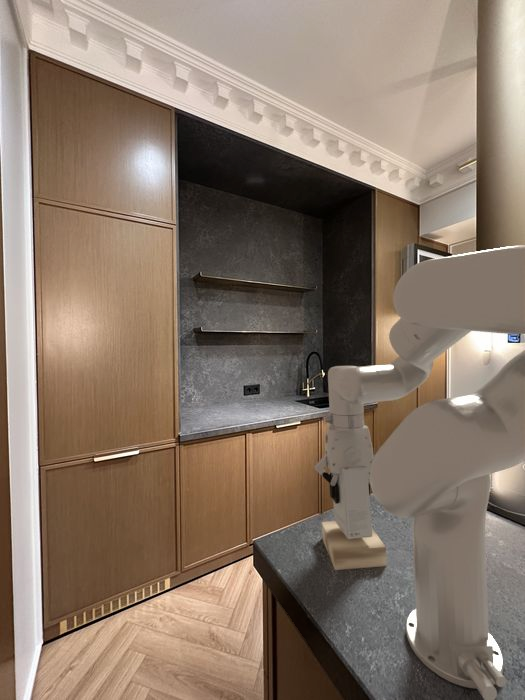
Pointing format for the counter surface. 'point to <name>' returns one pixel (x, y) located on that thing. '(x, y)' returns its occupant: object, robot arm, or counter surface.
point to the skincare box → (353, 503)
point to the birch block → (352, 549)
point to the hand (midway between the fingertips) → (350, 499)
